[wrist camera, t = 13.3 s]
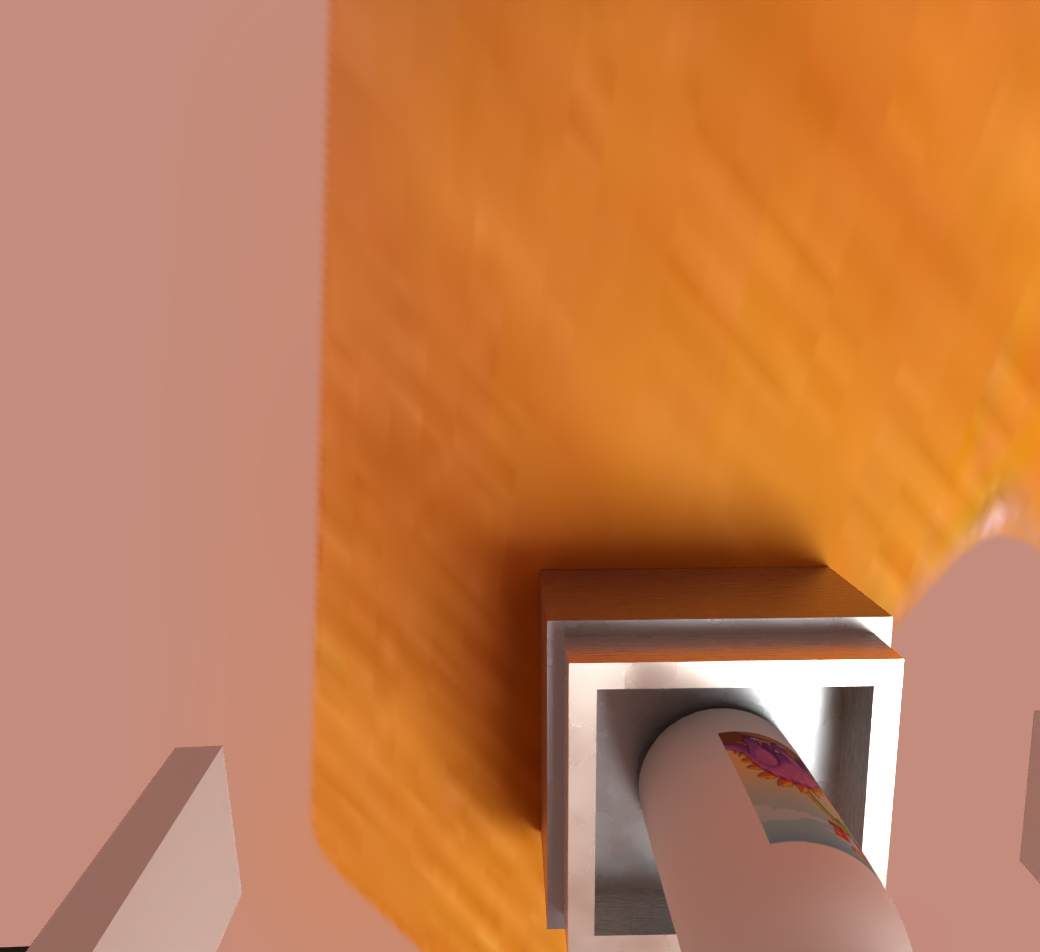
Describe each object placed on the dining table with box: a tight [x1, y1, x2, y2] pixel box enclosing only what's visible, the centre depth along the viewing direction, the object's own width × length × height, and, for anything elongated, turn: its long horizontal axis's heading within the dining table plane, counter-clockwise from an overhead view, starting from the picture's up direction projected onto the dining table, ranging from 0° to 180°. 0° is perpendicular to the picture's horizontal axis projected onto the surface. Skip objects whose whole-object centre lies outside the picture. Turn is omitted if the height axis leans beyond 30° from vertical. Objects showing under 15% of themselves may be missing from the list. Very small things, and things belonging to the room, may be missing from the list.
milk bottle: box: [639, 708, 913, 952], centre depth 31 cm, size 8×8×20 cm
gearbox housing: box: [540, 567, 904, 952], centre depth 43 cm, size 17×16×11 cm
